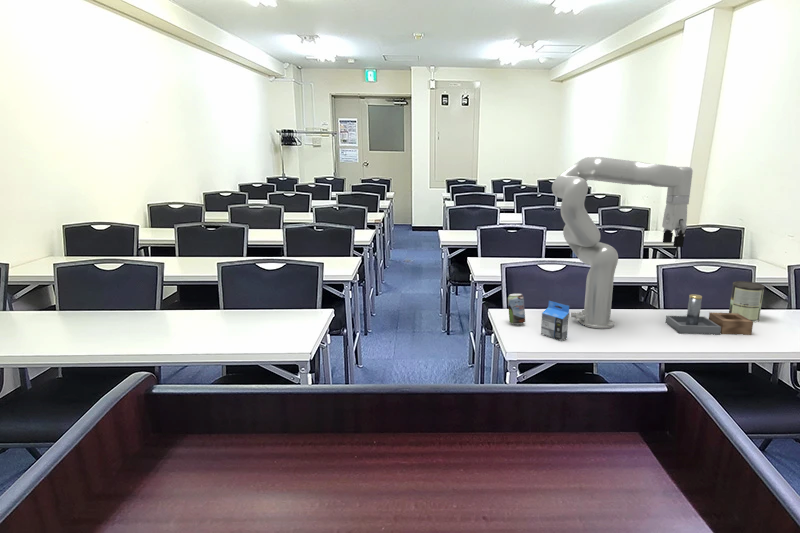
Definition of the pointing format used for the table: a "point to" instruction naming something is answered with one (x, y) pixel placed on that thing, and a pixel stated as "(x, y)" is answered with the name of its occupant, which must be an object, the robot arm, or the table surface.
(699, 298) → the steel pin
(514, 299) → the beverage can
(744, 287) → the coffee can
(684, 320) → the tray
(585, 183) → the robot arm
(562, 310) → the label tape cartridge
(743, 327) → the block
